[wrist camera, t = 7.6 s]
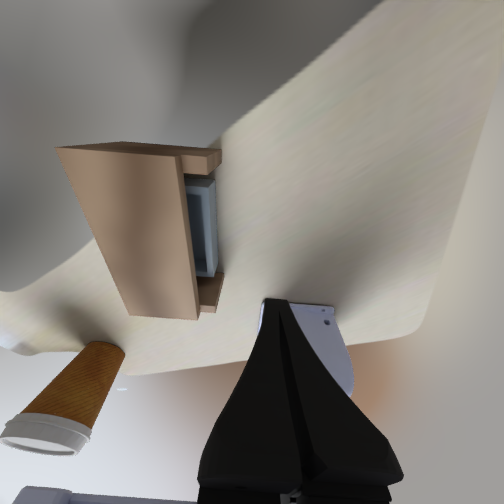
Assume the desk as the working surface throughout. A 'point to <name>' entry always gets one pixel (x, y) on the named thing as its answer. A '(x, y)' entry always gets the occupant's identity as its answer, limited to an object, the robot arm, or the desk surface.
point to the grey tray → (203, 224)
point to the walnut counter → (145, 222)
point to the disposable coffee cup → (66, 405)
